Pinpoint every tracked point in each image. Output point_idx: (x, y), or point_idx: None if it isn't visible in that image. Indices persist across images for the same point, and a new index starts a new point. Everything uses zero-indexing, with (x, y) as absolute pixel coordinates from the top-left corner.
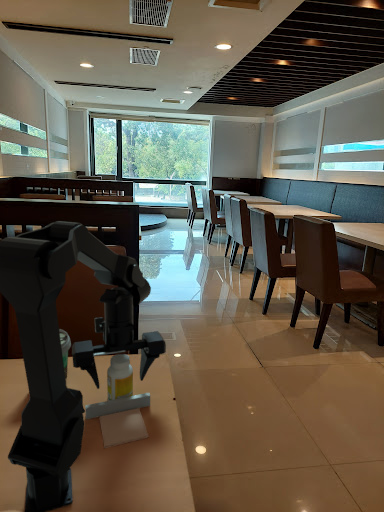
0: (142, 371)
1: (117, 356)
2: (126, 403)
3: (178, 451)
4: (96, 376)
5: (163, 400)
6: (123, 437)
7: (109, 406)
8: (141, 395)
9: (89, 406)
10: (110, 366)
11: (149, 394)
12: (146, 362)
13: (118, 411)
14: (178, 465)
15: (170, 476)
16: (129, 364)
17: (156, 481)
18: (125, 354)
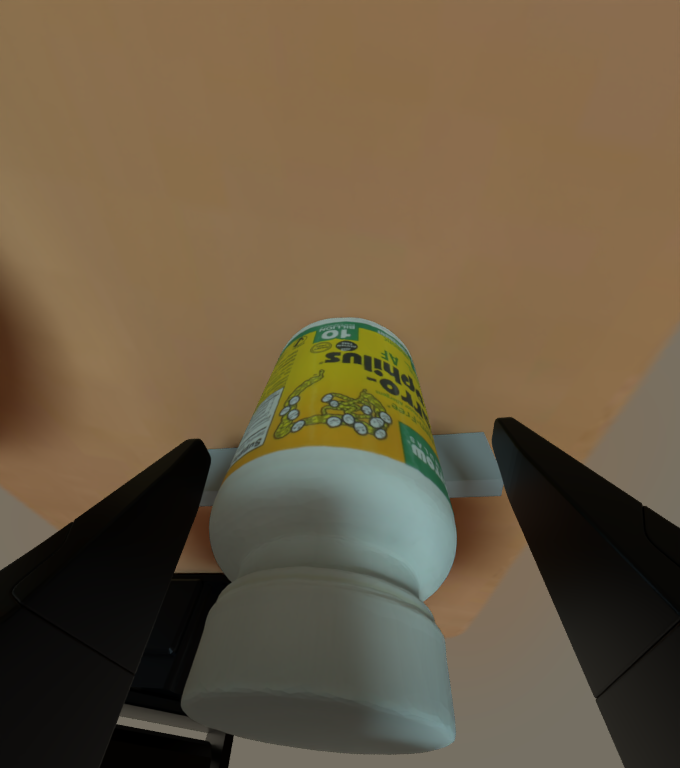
0: (536, 553)
1: (271, 714)
2: None
3: (490, 586)
4: (148, 620)
5: (560, 430)
6: None
7: None
8: (454, 489)
9: (204, 499)
10: (224, 556)
11: (499, 489)
12: (627, 756)
13: None
14: (472, 604)
15: (444, 613)
16: (436, 561)
17: None
18: (409, 717)
